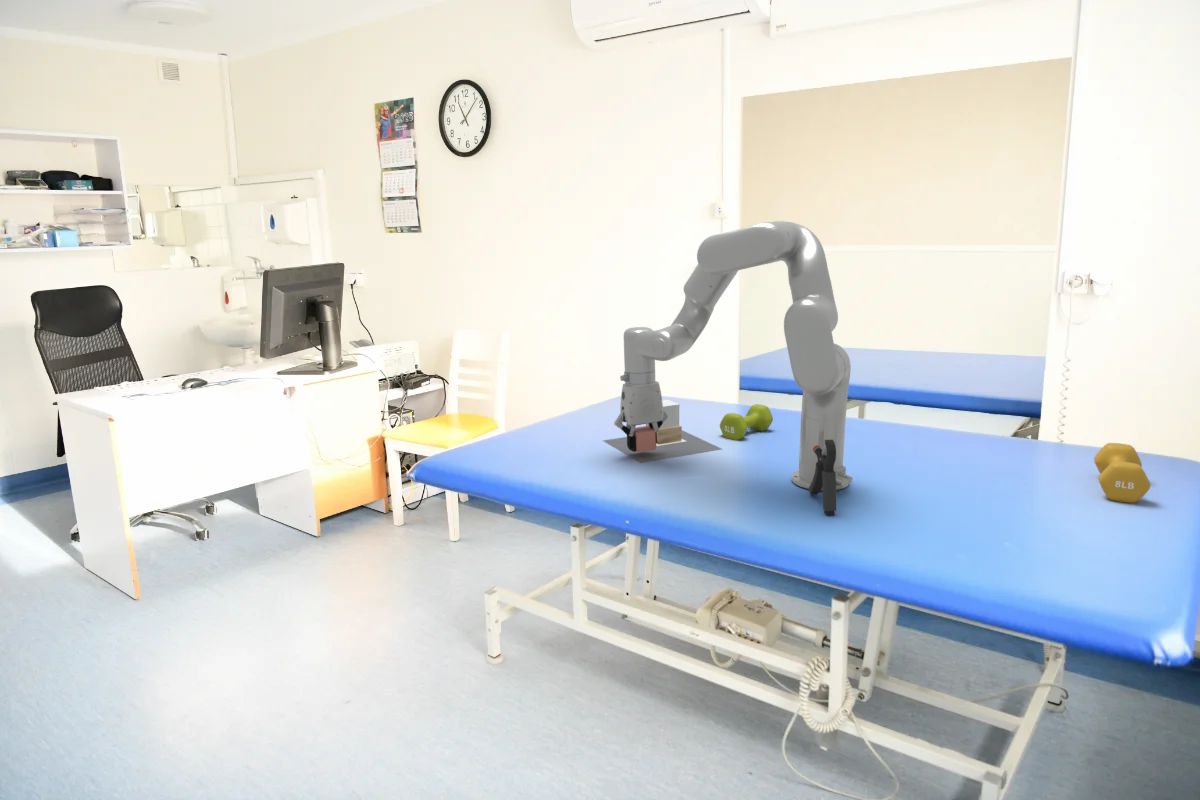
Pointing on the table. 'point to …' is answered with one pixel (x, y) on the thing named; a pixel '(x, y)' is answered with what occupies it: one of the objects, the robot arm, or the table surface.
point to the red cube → (645, 439)
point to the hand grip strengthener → (825, 476)
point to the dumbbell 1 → (746, 422)
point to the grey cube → (670, 414)
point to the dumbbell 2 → (1121, 473)
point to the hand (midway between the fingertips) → (642, 447)
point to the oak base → (669, 435)
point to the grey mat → (665, 448)
